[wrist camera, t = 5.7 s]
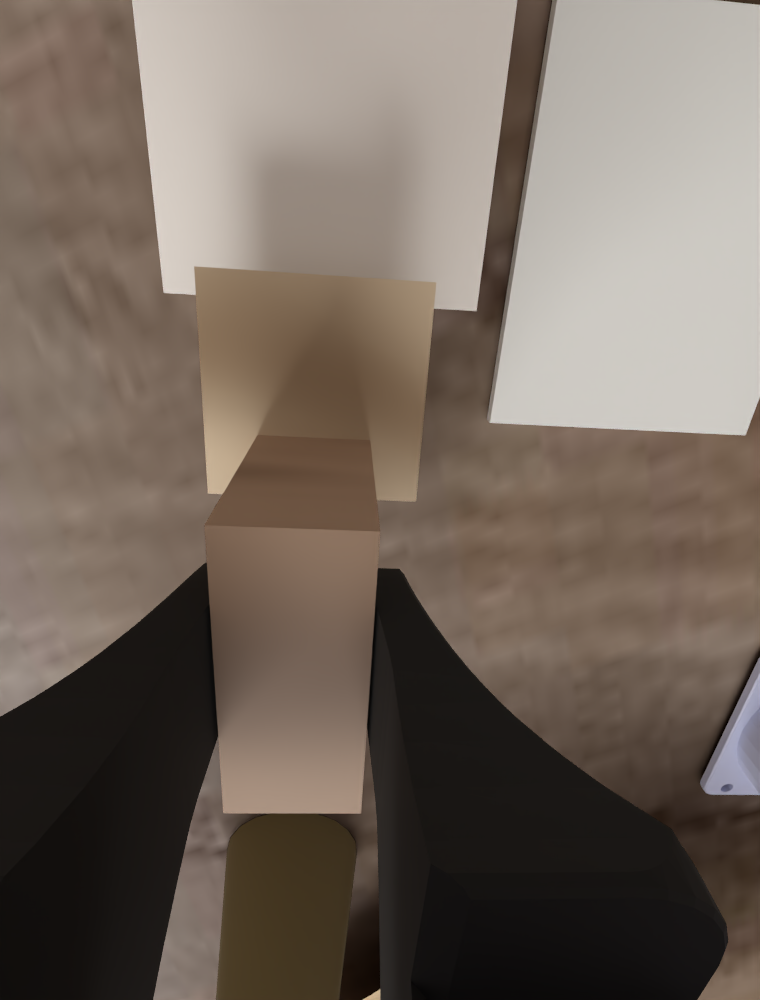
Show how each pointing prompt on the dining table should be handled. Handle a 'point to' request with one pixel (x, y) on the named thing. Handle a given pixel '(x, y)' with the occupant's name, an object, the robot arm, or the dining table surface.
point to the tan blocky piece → (302, 515)
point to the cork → (286, 908)
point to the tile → (325, 136)
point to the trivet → (639, 224)
